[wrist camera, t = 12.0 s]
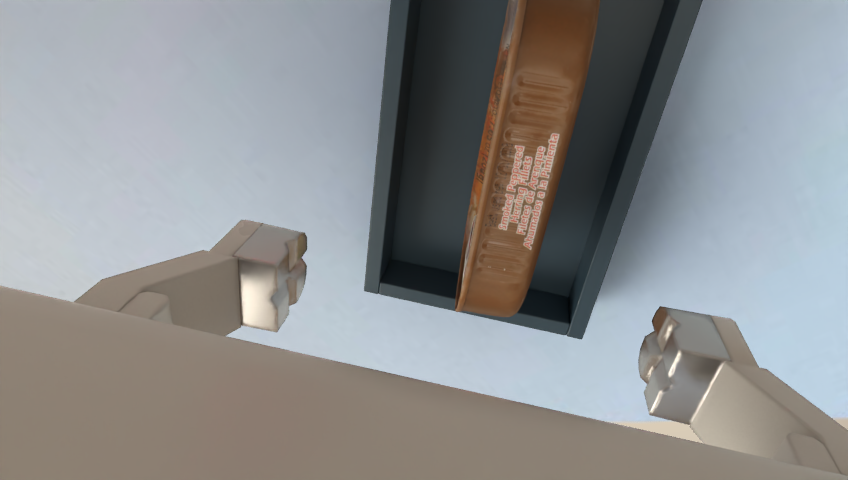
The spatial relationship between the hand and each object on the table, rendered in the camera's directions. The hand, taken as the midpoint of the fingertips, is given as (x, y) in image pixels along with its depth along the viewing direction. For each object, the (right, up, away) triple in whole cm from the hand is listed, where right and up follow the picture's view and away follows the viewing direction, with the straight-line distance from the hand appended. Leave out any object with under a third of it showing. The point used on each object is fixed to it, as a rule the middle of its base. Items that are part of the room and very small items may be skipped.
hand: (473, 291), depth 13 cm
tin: (+3, +7, +13) cm, 15 cm away
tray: (+3, +7, +14) cm, 16 cm away
